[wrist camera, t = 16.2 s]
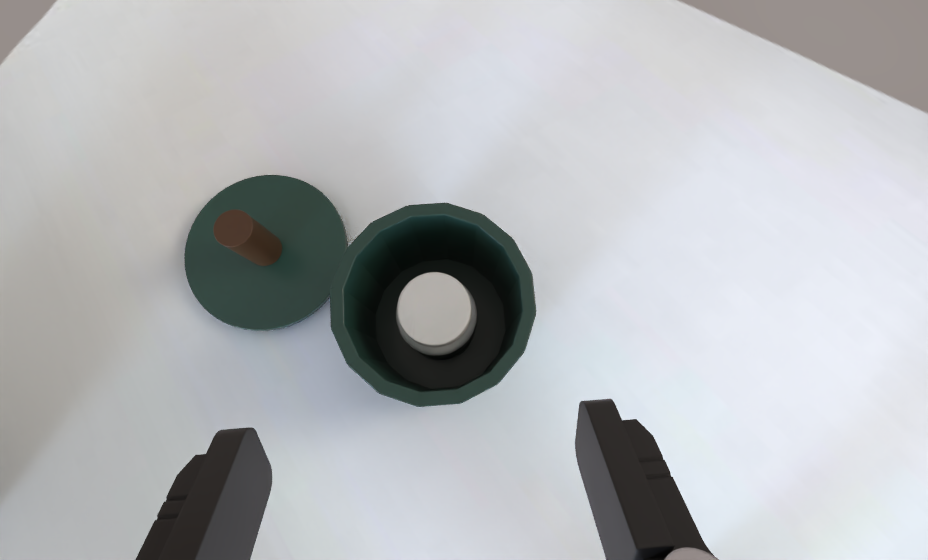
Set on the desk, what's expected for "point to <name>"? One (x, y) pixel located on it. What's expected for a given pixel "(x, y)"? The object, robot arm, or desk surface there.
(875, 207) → the desk surface
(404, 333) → the pill bottle
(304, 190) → the lid
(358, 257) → the tin
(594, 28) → the desk surface
